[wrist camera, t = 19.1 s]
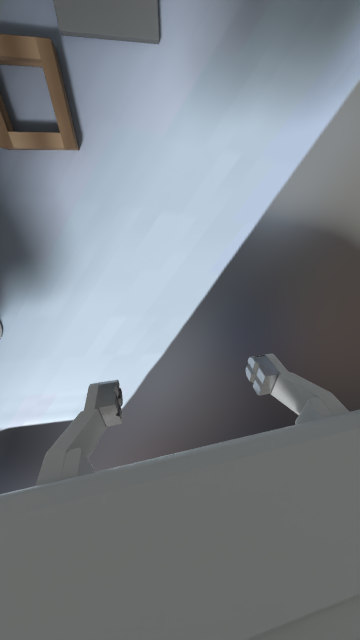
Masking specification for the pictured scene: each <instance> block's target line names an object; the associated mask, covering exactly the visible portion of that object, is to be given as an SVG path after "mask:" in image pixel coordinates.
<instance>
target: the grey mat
mask: <svg viewBox="0 0 360 640" xmlns="http://www.w3.org/2000/svg"><path fill="white" fill-rule="evenodd" d="M53 1H54V6H55V10H56V15H57V20H58V24H59V29H60V32H61V34H62V35H66V36H77V37H88V38H99V39H109V40H120V41H131V42H141V43H152V44H159V25H158V3H157V0H53Z"/></svg>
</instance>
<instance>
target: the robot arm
mask: <svg viewBox="0 0 360 640" xmlns="http://www.w3.org/2000/svg"><path fill="white" fill-rule="evenodd" d="M1 336H2V327H1V324H0V339H1ZM248 363H249V364H248V366H247V367H246V375H247V377H248V379H249V381H251V382H252V383H253V388H254V389H255V391H256V392H257V394H258V395H265V394H270V393H271V395H273V396H274V397H275V398H277V399H278V400H279V401H281V402H282V403H284V404H285V405H286V406H288V407H289V408H290V409H291V410H293V411H294V412H295V413H297V414H298V415H299V416H298V418H297V420H296V422H295V423H296V425H293V426H289V427H285V428H281V429H276V430H272V431H268V432H264V433H260V434H255V435H251V436H247V437H242V438H238V439H235V440H230V441H226V442H221V443H217V444H213V445H208V446H204V447H200V448H196V449H192V450H187V451H183V452H179V453H175V454H170V455H166V456H162V457H158V458H154V459H149V460H145V461H141V462H136V463H132V464H128V465H124V466H120V467H115V468H111V469H107V470H103V471H98V472H95V469H94V468H93V466H92V465H91V463H90V462H89V460H88V458H89V457H90V455H91V453H92V451H93V450H94V448H95V446H96V445H97V443H98V441H99V439H100V438H101V436H102V434H103V433H104V431H105V429H106V427H108V426H112V425H117V424H121V423H122V410H121V406H122V404H123V399H122V391H121V388H119V381H118V380H114V381H107V382H100V383H94V384H90V386H89V388H88V393H87V398H86V403H85V408H84V411H82V412H80V413H79V415H78V416H77V417H76V418H75V419H74V421H73V422H72V423H71V424H70V425H69V427H68V428H67V429H66V430H65V431H64V433H63V434H62V435H61V436H60V437H59V439H58V440H57V441H56V442H55V443H54V445H53V446H52V447H51V448H50V449H49V450H48V452H47V453H46V454H45V458H44V461H43V464H42V467H41V470H40V474H39V477H38V480H37V483H36V486H35V487H31V488H27V489H23V490H18V491H14V492H9V493H5V494H1V495H0V640H360V410H357V411H353V412H349V411H348V410H347V409H346V408H345V407H344V406H343V405H342V404H341V403H340V402H339V401H338V400H337V398H336V397H334V395H333V394H332V393H330V392H328V391H326V390H325V389H322V388H321V387H319V386H317V385H315V384H313V383H311V382H309V381H307V380H305V379H303V378H301V377H299V376H297V375H296V374H294V373H292V372H288V371H287V370H286V369H285V367H284V366H283V365H282V364H281V363H280V361H279V360H278V359H277V358H276V357H275V355H274V354H267V355H260V356H255V357H250V358H249V360H248Z"/></svg>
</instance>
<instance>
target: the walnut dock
mask: <svg viewBox="0 0 360 640" xmlns="http://www.w3.org/2000/svg"><path fill="white" fill-rule="evenodd" d="M0 64H3V65H18V66H32V67H43V70H44V74H45V77H46V81H47V85H48V89H49V93H50V96H51V100H52V104H53V108H54V112H55V115H56V119H57V123H58V127H59V131H60V133H47V132H14V129H13V127H12V124H11V121H10V118H9V116H8V113H7V110H6V107H5V105H4V102H3V99H2V96H1V93H0V147H1V148H4V149H8V150H79V147H78V142H77V138H76V134H75V130H74V125H73V121H72V117H71V112H70V108H69V104H68V99H67V95H66V91H65V86H64V82H63V78H62V73H61V69H60V65H59V60H58V56H57V52H56V48H55V46H54V44H53V43H52V41H51V39H50V38H40V37H29V36H18V35H7V34H0Z"/></svg>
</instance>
